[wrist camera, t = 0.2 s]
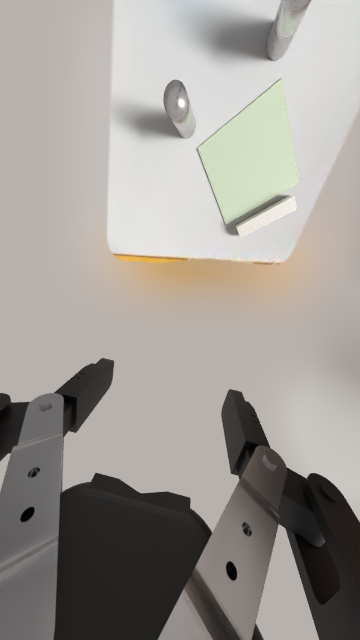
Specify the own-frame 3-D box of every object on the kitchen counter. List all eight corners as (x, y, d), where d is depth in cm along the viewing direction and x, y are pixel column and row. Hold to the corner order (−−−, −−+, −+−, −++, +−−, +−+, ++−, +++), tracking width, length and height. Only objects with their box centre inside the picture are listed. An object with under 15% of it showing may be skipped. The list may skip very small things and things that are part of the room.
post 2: (264, 36, 20) (290, -50, 13) (288, 12, 19) (332, -96, 12) (269, 67, 21) (296, 4, 14) (293, 47, 20) (335, -34, 13)
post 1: (175, 121, 25) (158, 93, 18) (190, 107, 24) (179, 71, 17) (183, 142, 26) (171, 124, 19) (198, 130, 25) (191, 105, 18)
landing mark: (197, 148, 27) (197, 148, 26) (281, 78, 22) (282, 78, 21) (225, 224, 32) (225, 224, 32) (298, 183, 27) (298, 183, 27)
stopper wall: (235, 225, 32) (236, 227, 30) (289, 195, 28) (294, 195, 26) (239, 235, 33) (240, 238, 31) (291, 208, 29) (296, 209, 27)
